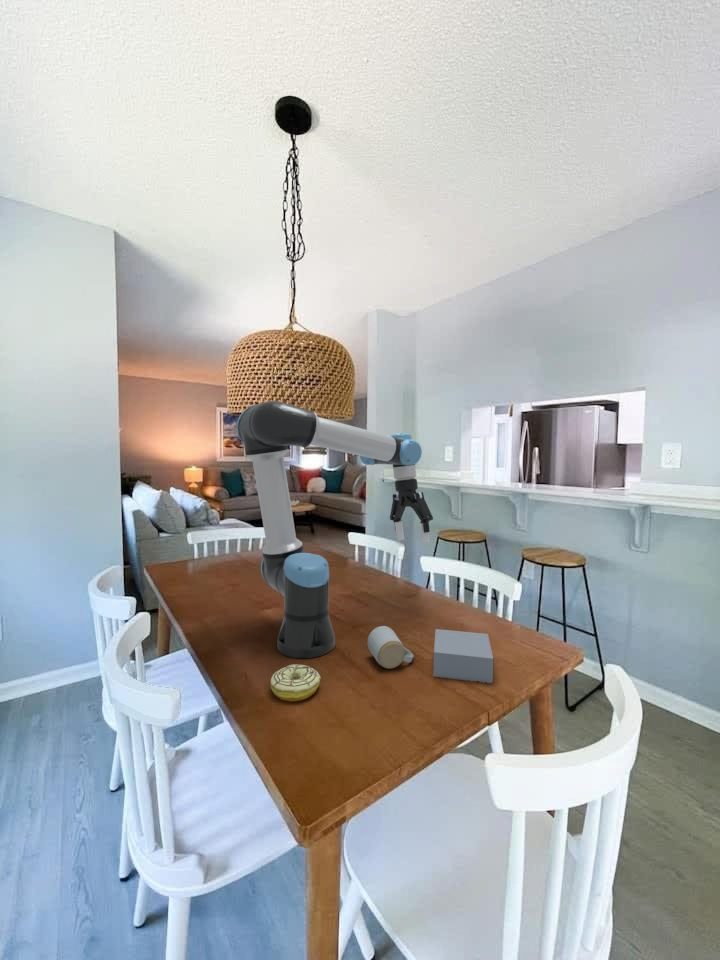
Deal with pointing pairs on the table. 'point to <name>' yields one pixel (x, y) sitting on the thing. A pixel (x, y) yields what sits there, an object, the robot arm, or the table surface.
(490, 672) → the riser block
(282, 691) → the decorated donut
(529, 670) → the table surface
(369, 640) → the ceramic mug
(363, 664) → the table surface
